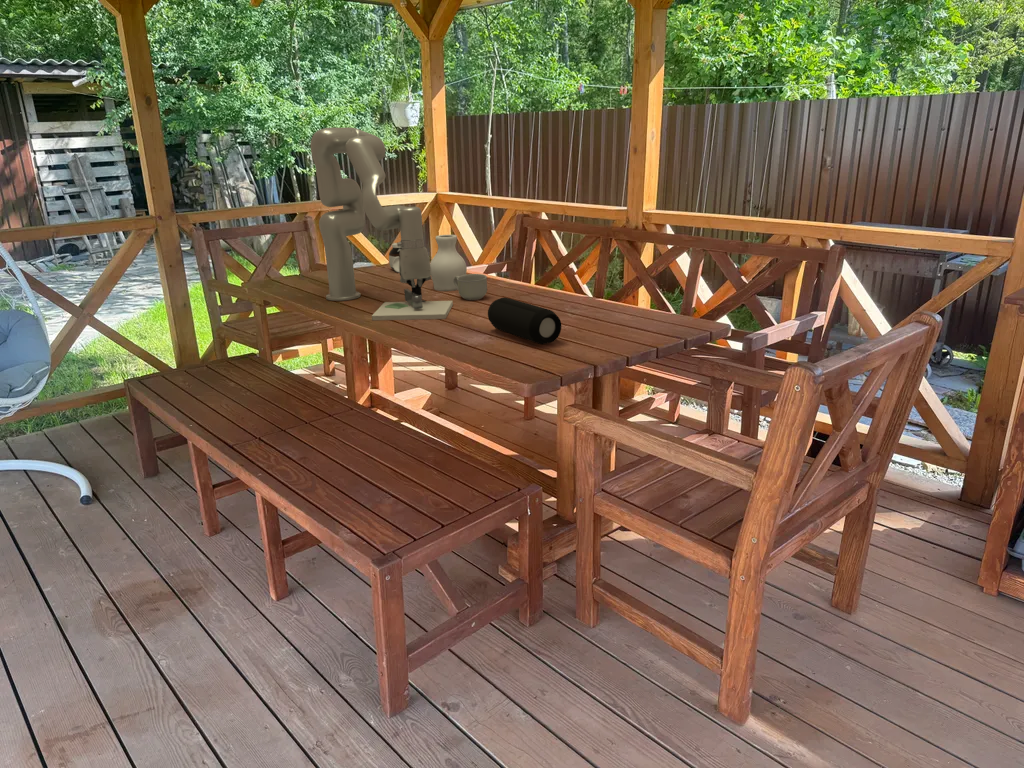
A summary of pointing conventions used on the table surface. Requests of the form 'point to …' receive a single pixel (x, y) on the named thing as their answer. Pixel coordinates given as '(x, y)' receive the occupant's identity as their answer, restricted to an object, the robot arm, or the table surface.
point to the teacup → (471, 286)
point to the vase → (446, 264)
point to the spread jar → (394, 257)
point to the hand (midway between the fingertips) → (417, 298)
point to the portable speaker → (524, 320)
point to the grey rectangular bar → (413, 299)
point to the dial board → (413, 310)
